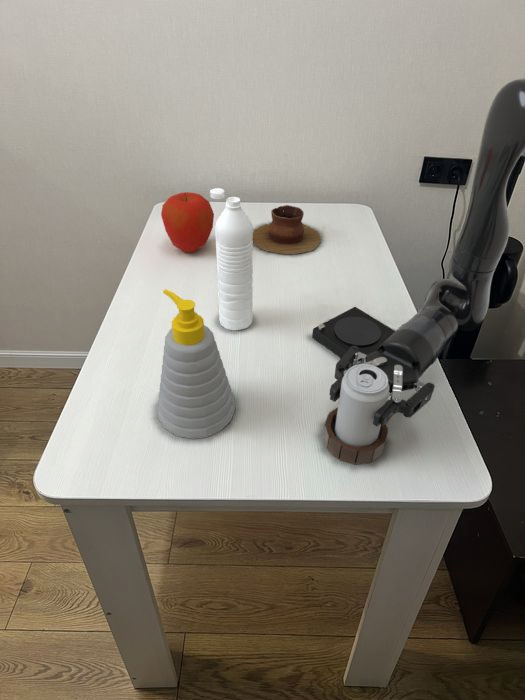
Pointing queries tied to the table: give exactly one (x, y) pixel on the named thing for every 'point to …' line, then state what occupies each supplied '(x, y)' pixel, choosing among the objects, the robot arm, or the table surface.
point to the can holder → (350, 452)
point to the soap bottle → (193, 378)
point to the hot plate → (352, 333)
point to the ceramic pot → (286, 233)
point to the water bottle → (234, 263)
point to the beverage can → (360, 405)
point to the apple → (187, 220)
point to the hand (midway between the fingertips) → (353, 408)
